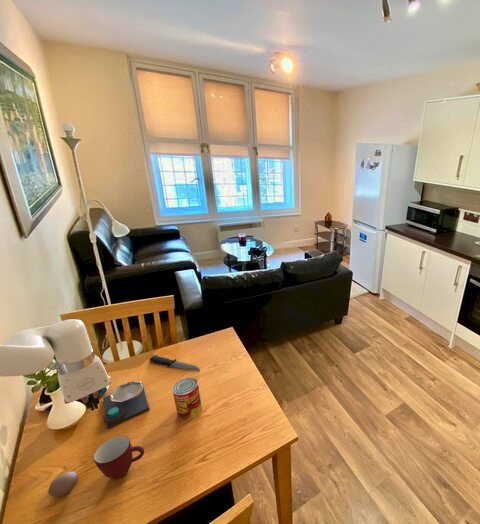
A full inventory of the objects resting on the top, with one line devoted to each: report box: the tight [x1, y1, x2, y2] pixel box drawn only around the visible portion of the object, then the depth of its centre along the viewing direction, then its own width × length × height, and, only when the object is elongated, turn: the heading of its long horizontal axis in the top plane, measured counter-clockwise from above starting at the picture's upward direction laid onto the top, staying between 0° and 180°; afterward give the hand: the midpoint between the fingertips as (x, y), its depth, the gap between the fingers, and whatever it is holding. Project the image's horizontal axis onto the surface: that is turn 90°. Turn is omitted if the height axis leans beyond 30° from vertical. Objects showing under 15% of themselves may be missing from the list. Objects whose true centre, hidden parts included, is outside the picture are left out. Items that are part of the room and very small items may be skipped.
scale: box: [103, 382, 151, 430], centre depth 104 cm, size 12×15×3 cm
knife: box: [149, 354, 201, 373], centre depth 124 cm, size 25×2×5 cm
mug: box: [93, 435, 145, 480], centre depth 83 cm, size 10×8×10 cm
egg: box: [47, 471, 79, 498], centre depth 79 cm, size 6×6×4 cm
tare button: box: [108, 407, 119, 418], centre depth 98 cm, size 3×3×2 cm
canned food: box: [171, 376, 203, 421], centre depth 102 cm, size 8×8×12 cm
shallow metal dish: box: [109, 380, 144, 404], centre depth 106 cm, size 10×10×1 cm
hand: (93, 407), depth 89 cm, fingers closed
